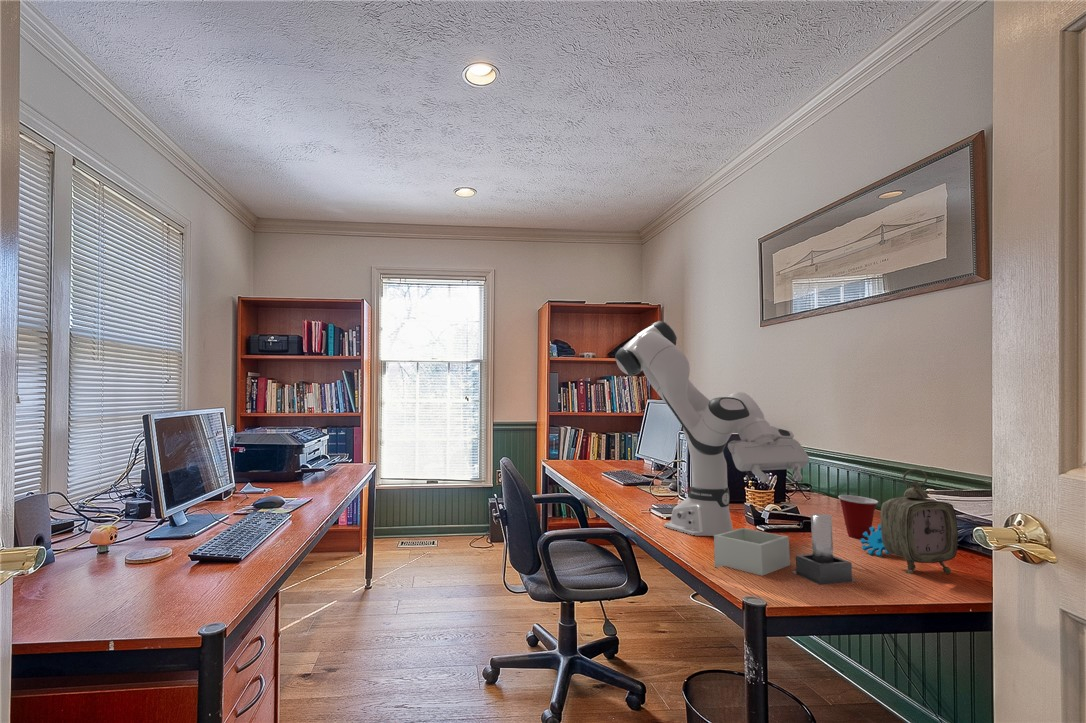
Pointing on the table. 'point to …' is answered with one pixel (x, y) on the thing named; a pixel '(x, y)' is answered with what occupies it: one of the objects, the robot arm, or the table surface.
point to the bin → (751, 551)
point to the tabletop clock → (919, 527)
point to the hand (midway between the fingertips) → (782, 480)
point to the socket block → (824, 570)
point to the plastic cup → (857, 514)
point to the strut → (822, 538)
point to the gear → (874, 542)
